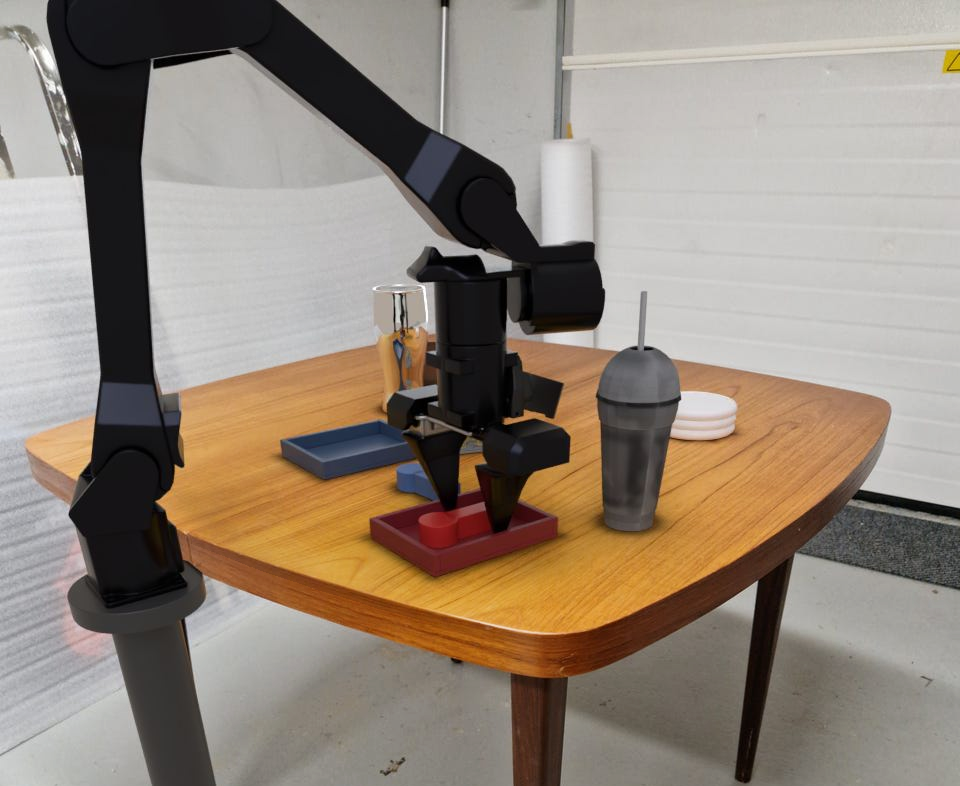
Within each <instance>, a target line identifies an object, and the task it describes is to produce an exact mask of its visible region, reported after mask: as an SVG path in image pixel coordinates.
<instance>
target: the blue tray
mask: <svg viewBox="0 0 960 786" xmlns="http://www.w3.org/2000/svg"><path fill="white" fill-rule="evenodd" d="M405 431H409V430H404V431H402V430H400V429H397V428H395V427H393V426H390V425H388V421H387V420H384V419H382V418H379V419H374V420H369V421H365V422H360V423H355V424H351V425H345V426H341V427H336V428H330V429H325V430H321V431H316V432H311V433H306V434H301V435H295V436H291V437H286V438H282V439H280V440H279V444H280V451H281V456H282V457H283V458H285V459H286V460H289V461H290V462H292V463H293V464H295V465H297V466H299V467H301V468H303V470H305V471H307V472H309V473H312V474H313V475H315V476H317V477H318V478H320V479H322V480H324V481H325V480H329V479H334V478H338V477H342V476H346V475H350V474H355V473H360V472H362V471H368V470H371V469H376V468H381V467H384V466H388V465H389V466H390V465H392V464H396V463H401V462H406V461H409V460H413V459H417V458H416V457H415V455H414V453H413V451H412V450H411V448H410V446H409V445H408V443H407V442H406V440H404V439H403V438H402V435H401V433H402V432H405Z"/></svg>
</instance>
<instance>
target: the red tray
mask: <svg viewBox="0 0 960 786" xmlns="http://www.w3.org/2000/svg"><path fill="white" fill-rule="evenodd" d="M481 502H484V501H483V497H482V493H481V489H480V487H479V488H475V489H472V490H468V491H465V492H461V493H460V494H458V498H457V506H456V508H455V509H454V510H457V509H460V508H464V507H467V506H471V505H474V504H478V503H481ZM451 511H453V510H451ZM434 512H445V513H446V512H449V511H446V510H445V509H444V508H443V506H442V504H441V502H440V500H439V499H438V500H435V501H433V500H431V501H428V502H424V503H420V504H417V505H412V506H410V507H406V508H402V509H398V510H395V511H390V512H387V513H384V514H383V513H382V514H380V515H379V514H378V515H376V516H373V517H369V518H368V519H369V520H368V521H369V523H368V524H369V535H370V539H372V540H373V541H375V542H376V543H378V544H380V545H382V546H383V547H385V548H386V549H388V550H390V551H391V552H393V553H395V554H396V555H397V556H399V557H401V558H403V559H404V560H406V561H408V562H409V563H411V564H413V565H414V566H416V567H417V568H419V569H420V570H422V571H424V572H425V573H427V574H429V575H430V576H432V577H434V578H436V577H439V576H442V575H446V574H448V573H452V572H455V571H457V570H461V569H463V568H464V569H465V568H467V567H470V566H473V565H477V564H479V563H482V562H485V561H489V560H492V559H494V558H498V557H501V556H503V555H506V554H509V553H512V552H516V551H519V550H522V549H524V548H528V547H531V546H534V545H538V544H540V543H543V542H546V541H549V540H553V539H555V538H558V532H559V531H558V529H559V517H558V516H556V515H554V514H553V513H550V512H547V511H545V510H543V509H541V508H539V507H536V506H535V505H532V504H529V503H528V502H525V501H522V500H520V499H518V502H517V505H516V508H515V510H514V513H513V515H512V518H511V521H510V523H509V526H508V529H507V530H505V531H502V532H499V533H495V534H493V532H492V529H491V530H488V531H485V532H481V533H478V534H475V535H471V536H468V537H465V538H462V539H458V542H457V543H456V544H455V545H453V546H450V547H446V548H430V547H426V546H424V545H423V544H421V543H420V541H419V518H420V517H421V516H423V515H425V514H428V513H434Z"/></svg>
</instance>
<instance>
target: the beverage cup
mask: <svg viewBox="0 0 960 786" xmlns="http://www.w3.org/2000/svg"><path fill="white" fill-rule="evenodd" d="M639 302H640V303H639V318H638V319H639V320H638V321H639V322H638V335H637V345H632V346H628V347H626V348H624V349H622V350H620V351H619V352H617V353H615V355H614V356H612V357H611V358H610V359H609V361H608V362H607V363H606V364H605V366H604V368H603V370H602V372H601V374H600V378H599V382H598V386H597V390H596V393H595V398H596V399H597V401H596V409H597V416H598V420H599V421H600V422H599V423H600V424H599V425H600V427H599V428H600V455H601V456H600V462H601V463H600V464H601V465H600V466H601V500H602V501H601V502H602V510H603V512H602V513H603V524H604V525H605V526H607V527H608V528H611V529H613V530H616V531H622V532H641V531H644V530H648V529H650V528H651V527H653V525H654V519H655V515H656V510H657V508H658V504H659V497H660V493H661V486H662V483H663V477H664V470H665V465H666V461H667V460H666V459H667V455H668V450H669V444H670V438H671V437H670V434H671V428H672V423H674V421H675V417H676V414H677V411H678V405H679V401H680V400H681V392H680V391H681V383H680V382H681V381H680V375H679V372H678V370H677V367H676V365H675V364H674V362H673V360H672V359H671V358H670V357H669V356H668V355H667V354H666V353H665V352H663V350H661V349H658V348H657V347H654V346H651V345H645V338H646V322H647V320H646V319H647V305H648V291H646V290H642V291H640V301H639Z"/></svg>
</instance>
